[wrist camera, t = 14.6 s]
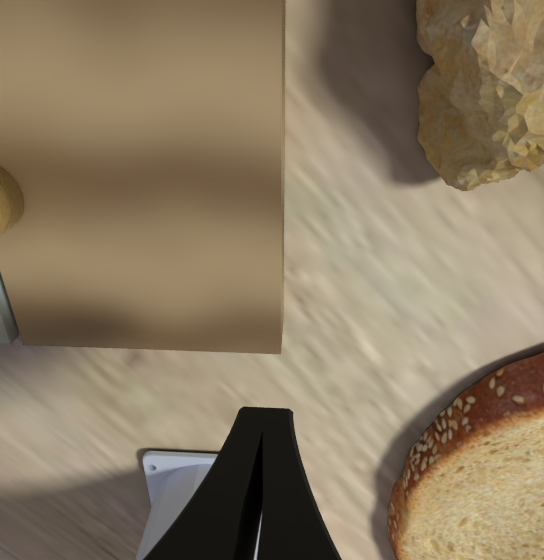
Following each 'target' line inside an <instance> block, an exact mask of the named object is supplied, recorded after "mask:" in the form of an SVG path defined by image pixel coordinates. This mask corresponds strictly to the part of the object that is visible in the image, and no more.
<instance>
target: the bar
mask: <svg viewBox="0 0 544 560" xmlns="http://www.w3.org/2000/svg"><path fill="white" fill-rule="evenodd" d="M24 206H25V203H24V197H23V193H22V190H21V188H20V186H19V184H18V183H17V181H16V180H15V179H14V177H13V176H12V175H11V174H10V173H9V172H8V171H7V170H5V169H4V168H3V167H1V166H0V235H2V234H3V233H5V232H6V231H7V230H9V229H10V228H11V227H13V226H14V225H15V224H17V223H18V222H19V220H20V219H21V217H22V215H23V213H24Z"/></svg>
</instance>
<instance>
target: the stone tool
mask: <svg viewBox="0 0 544 560" xmlns="http://www.w3.org/2000/svg"><path fill="white" fill-rule="evenodd" d="M416 6H417V11H416V20H417V36H416V40H417V42H418V43H419V45H420V47H421V49H422V51H423V52H425V53H427V54H428V55H430V56H432V57H433V60H434V63H435V64H434V65H433V66H432V67H431V68H429V69H428V70H427V71H426V72H425V73H424V75H423V76H422V78H421V81H420V83H419V85H418V87H417V91H418V95H419V108H418V117H419V130H418V133H417V136H418V142H419V143H420V144H421V146H422V147H423V148H424V149H425V156H426V160H427V161H428V162H429V163H430V164H432V165H433V167H434V169H435V170H436V171H437V172H438V173H439V175H440V176H441V177H442V179H443V180H444V181H445V183H446V184H447V185H449V186H453V187H454V188H456V189H459V190H461V191H468V190H473V189H475V188H476V187H478V186H479V185H481V184H485V183H491V182H499V180H505V179H510V178H512V177H514V176H515V175H516V174H517V173H518V172H519V171H520V170H523V169H525V170H527V171H529V172H532V171H533V170H535V169H537V168H538V167H540V166H541V165H542V164H544V0H416Z"/></svg>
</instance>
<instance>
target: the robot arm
mask: <svg viewBox="0 0 544 560" xmlns="http://www.w3.org/2000/svg"><path fill="white" fill-rule="evenodd" d="M142 461H143V466H144V471H145V477H146V482H147V487H148V492H149V497H150V502H151V507H152V508H151V511H150V514H149V518H148V521H147V524H146V527H145V530H144V533H143V536H142V540H141V543H140V546H139V549H138V552H137V555H136V559H135V560H342V559H341V557H340V555H339V553H338V551H337V549H336V547H335V545H334V543H333V541H332V539H331V537H330V535H329V532H328V530H327V528H326V526H325V523H324V521H323V519H322V516H321V514H320V512H319V509H318V507H317V504H316V501H315V499H314V496H313V494H312V491H311V488H310V485H309V483H308V479H307V476H306V473H305V470H304V467H303V464H302V460H301V457H300V453H299V449H298V445H297V441H296V436H295V430H294V422H293V412H292V411H291V410H290V409H284V408H261V407H242V408H241V409H240V410H239V412H238V415H237V417H236V420H235V422H234V424H233V427H232V429H231V431H230V433H229V435H228V437H227V439H226V441H225V443H224V445H223V447H222V449H221V450H220V452H219V454H206V453H186V452H166V451H147V452H146V453H145V454H144V456H143V459H142Z"/></svg>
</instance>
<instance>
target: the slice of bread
mask: <svg viewBox="0 0 544 560" xmlns="http://www.w3.org/2000/svg"><path fill="white" fill-rule="evenodd" d="M387 528H388V535H389V538H390V542H391V545H392V548H393V551H394V554H395V556H396V559H397V560H544V352H543V353H541V354H538V355H536V356H532V357H529V358H525V359H522V360H518V361H515V362H513V363H510V364H508V365H506V366H504V367H502V368H500V369H498V370H496V371H494V372H492V373H490V374H488V375H487V376H485V377H483V378H481V379H480V380H478V381H477V382H475V383H474V384H473V385H471V386H470V387H468V388H467V389H465V390H464V391H463V392H461V393H460V394H459V395H458V396H457V398H456V399H455V400H454V402H453V403H452V404H451V405H450V406H448V407H447V408H446V409H444V410H443V411H442V412H441V413H440V414H439V415H438V416H437V418H436V419H435V420H434V422H433V423H432V424H431V425H430V426H429V427H428V428H427V429H426V430H425V431H424V433H423V434H422V436H421V437H420V439H419V440H418V441H417V442H416V443H415V444H414V445H413V446H412V447H411V449H410V451H409V455H408V458H407V462H406V466H405V471H404V473H403V475H402V476H401V477H400V478H399V479H398V481H397V482H396V483H395V484H394V486H393V489H392V495H391V499H390V502H389V505H388V524H387Z"/></svg>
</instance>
